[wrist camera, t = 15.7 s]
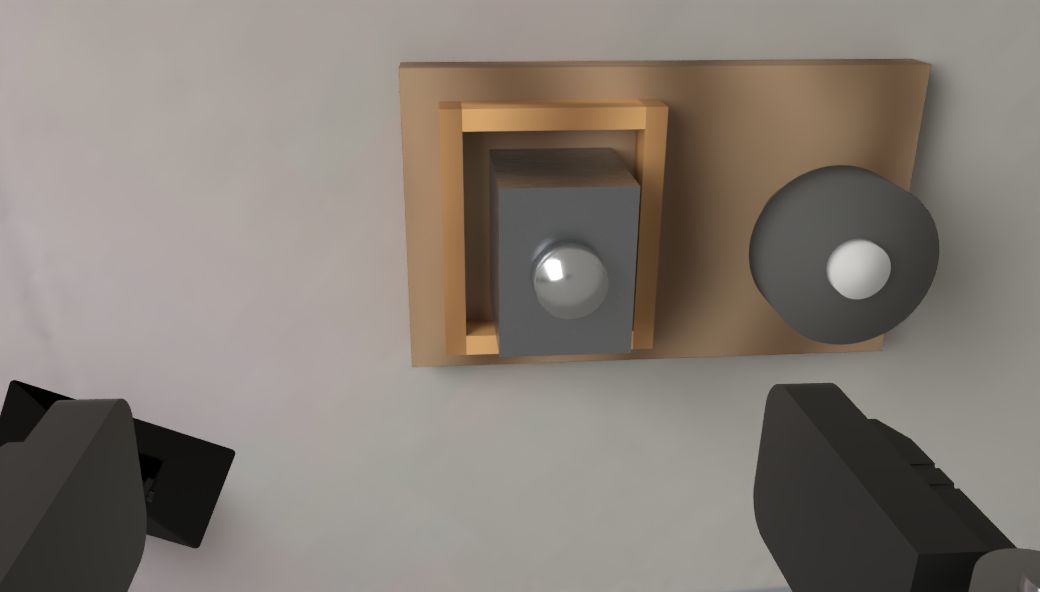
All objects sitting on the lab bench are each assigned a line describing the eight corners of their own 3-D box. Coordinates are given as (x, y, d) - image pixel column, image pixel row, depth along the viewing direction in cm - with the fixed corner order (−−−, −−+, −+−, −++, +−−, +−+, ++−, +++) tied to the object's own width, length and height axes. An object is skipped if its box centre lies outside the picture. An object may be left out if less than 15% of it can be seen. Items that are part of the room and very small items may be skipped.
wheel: (741, 322, 34) (766, 354, 32) (757, 166, 32) (785, 187, 30) (894, 317, 35) (931, 349, 32) (921, 163, 33) (963, 184, 30)
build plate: (-54, 481, 40) (-111, 547, 36) (-15, 340, 38) (-71, 393, 33) (226, 562, 43) (203, 633, 39) (277, 437, 40) (260, 497, 36)
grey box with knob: (490, 296, 37) (501, 370, 31) (488, 149, 34) (500, 197, 28) (603, 293, 37) (636, 365, 31) (610, 147, 35) (647, 194, 29)
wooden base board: (412, 351, 39) (410, 402, 35) (400, 62, 34) (396, 82, 30) (866, 336, 40) (916, 383, 36) (911, 58, 36) (974, 76, 32)
